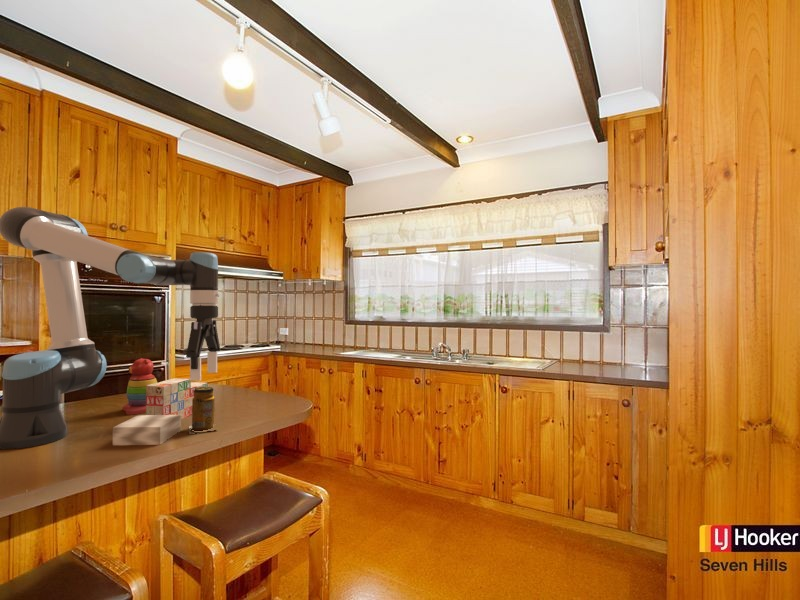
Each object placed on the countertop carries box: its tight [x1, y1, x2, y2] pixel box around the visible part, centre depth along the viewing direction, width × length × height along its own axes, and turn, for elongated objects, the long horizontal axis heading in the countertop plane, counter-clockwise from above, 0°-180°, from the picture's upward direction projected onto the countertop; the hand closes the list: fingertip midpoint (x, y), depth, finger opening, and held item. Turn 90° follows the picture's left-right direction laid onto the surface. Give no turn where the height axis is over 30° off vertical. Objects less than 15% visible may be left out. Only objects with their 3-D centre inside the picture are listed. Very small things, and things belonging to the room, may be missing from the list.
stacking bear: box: [122, 357, 158, 416], centre depth 146 cm, size 11×10×18 cm
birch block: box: [112, 414, 182, 446], centre depth 116 cm, size 12×12×5 cm
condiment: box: [188, 386, 216, 435], centre depth 125 cm, size 7×8×12 cm
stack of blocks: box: [145, 377, 209, 420], centre depth 138 cm, size 21×6×12 cm, turn 169°
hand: (204, 376), depth 125 cm, fingers open, 13 cm apart
